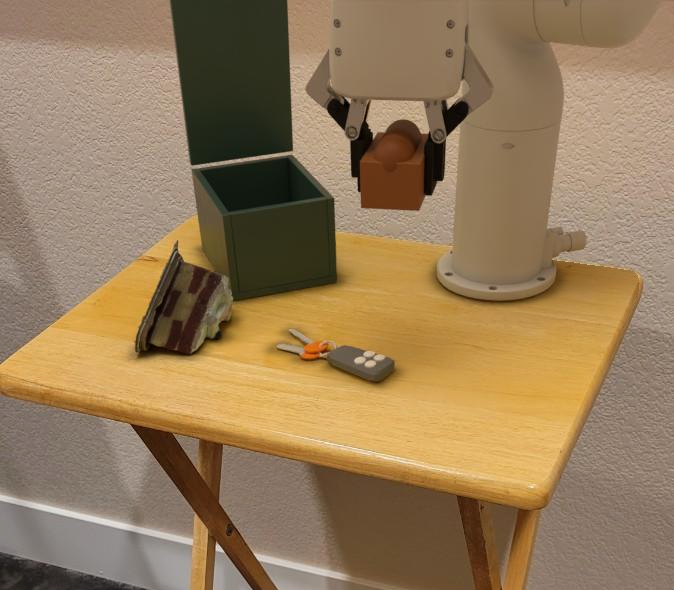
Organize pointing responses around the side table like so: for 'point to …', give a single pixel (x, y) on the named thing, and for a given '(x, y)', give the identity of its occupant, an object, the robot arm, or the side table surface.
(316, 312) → the side table surface
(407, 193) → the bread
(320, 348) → the key chain
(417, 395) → the side table surface
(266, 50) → the bread lid
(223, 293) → the chocolate cake
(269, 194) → the box
